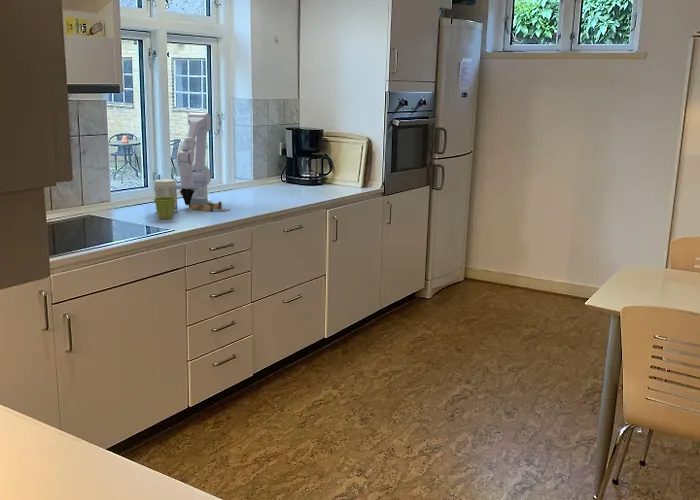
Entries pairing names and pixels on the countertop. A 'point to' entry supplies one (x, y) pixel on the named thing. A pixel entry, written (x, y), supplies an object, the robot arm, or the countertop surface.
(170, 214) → the plant pot
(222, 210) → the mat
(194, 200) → the block
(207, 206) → the chute
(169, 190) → the supplement tub
